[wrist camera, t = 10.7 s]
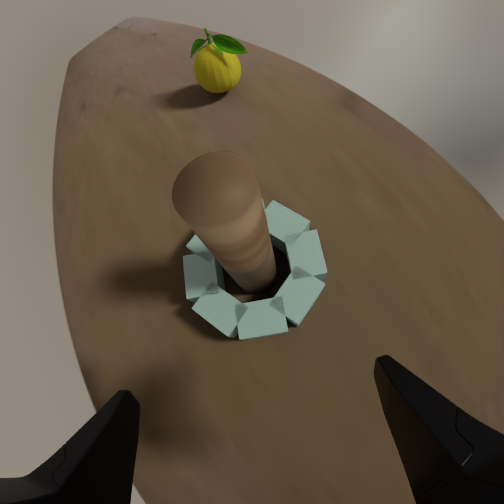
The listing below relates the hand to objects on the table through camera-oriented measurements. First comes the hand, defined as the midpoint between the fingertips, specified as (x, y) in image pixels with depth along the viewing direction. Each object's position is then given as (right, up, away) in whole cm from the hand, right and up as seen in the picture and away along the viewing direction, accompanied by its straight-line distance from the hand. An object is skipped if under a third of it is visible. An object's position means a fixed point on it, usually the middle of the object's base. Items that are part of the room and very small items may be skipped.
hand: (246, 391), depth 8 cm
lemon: (-3, +25, +23) cm, 34 cm away
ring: (+1, +3, +14) cm, 14 cm away
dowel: (+1, +3, +14) cm, 14 cm away
